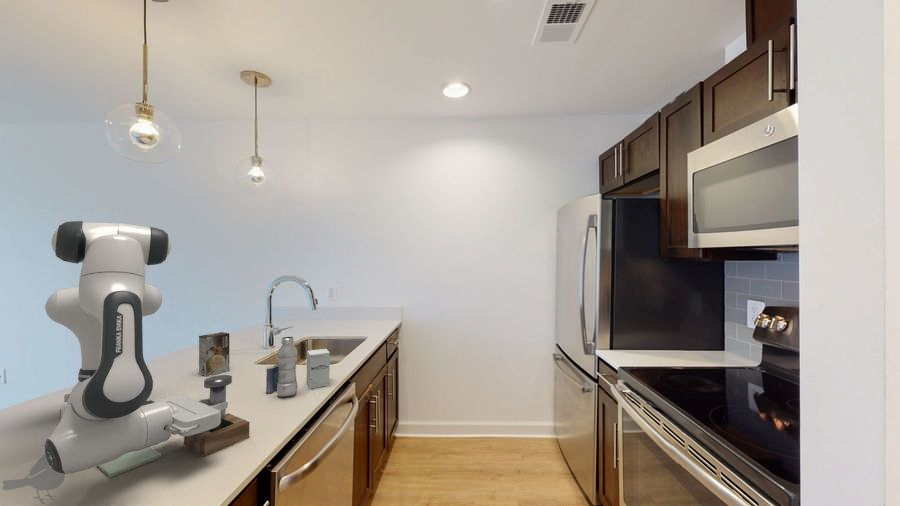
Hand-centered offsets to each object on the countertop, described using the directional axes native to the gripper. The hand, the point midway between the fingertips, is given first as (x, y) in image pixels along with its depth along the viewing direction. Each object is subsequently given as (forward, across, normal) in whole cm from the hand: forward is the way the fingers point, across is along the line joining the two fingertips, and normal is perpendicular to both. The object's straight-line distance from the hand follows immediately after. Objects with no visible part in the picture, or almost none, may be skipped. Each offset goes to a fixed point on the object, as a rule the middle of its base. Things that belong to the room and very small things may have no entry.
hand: (221, 402), depth 90 cm
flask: (+29, +20, +10) cm, 37 cm away
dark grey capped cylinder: (-1, 0, +9) cm, 9 cm away
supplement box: (+40, +11, +10) cm, 42 cm away
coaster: (-16, +8, +10) cm, 20 cm away
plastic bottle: (+27, +12, +10) cm, 31 cm away
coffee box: (+27, +61, +10) cm, 67 cm away
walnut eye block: (-1, 0, +10) cm, 10 cm away
